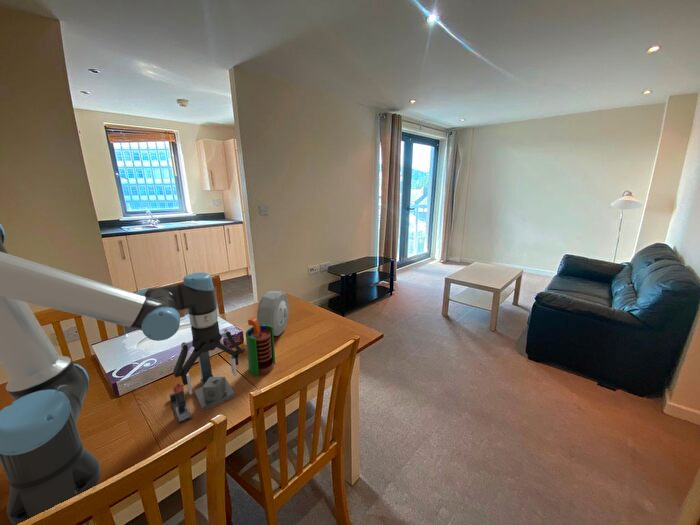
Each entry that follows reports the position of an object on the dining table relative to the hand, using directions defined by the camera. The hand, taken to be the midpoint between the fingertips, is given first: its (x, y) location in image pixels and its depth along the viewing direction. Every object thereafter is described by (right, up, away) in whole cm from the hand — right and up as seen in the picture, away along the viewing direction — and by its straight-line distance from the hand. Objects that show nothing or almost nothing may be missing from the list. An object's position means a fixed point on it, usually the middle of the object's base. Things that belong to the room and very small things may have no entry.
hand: (213, 382), depth 95 cm
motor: (+11, -1, +16) cm, 20 cm away
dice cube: (+1, -4, 0) cm, 4 cm away
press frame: (-5, -5, +2) cm, 7 cm away
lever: (-6, -8, -7) cm, 12 cm away
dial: (+10, +6, +42) cm, 44 cm away
